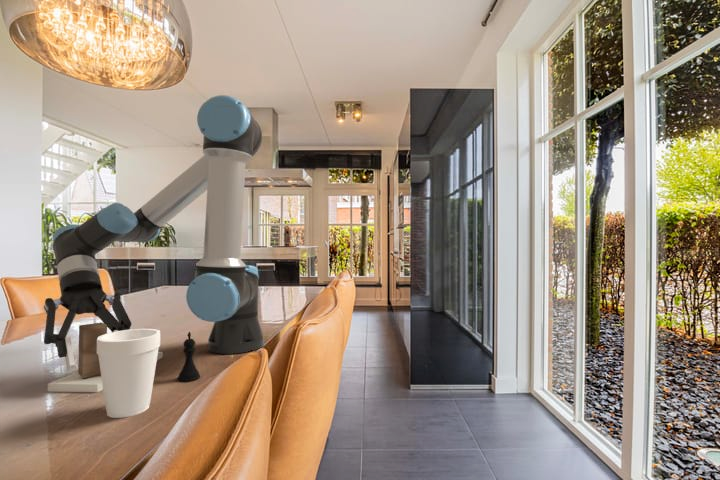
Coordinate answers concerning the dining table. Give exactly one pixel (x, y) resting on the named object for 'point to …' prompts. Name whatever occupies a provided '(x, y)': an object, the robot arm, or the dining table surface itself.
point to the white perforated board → (80, 382)
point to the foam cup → (128, 370)
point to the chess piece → (189, 362)
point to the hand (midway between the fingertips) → (96, 363)
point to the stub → (89, 349)
